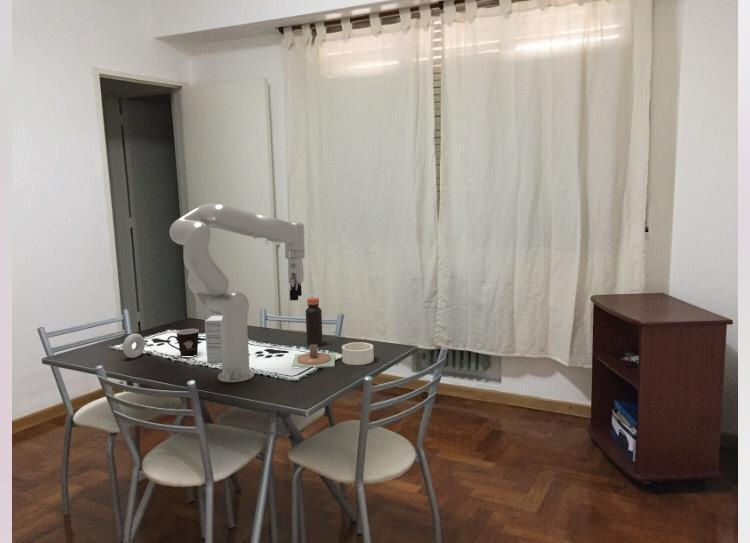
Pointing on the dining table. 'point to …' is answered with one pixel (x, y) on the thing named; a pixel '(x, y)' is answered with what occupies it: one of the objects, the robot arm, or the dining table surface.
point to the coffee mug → (187, 342)
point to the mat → (327, 364)
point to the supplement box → (213, 338)
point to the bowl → (357, 353)
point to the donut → (138, 349)
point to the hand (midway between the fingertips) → (295, 297)
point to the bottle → (314, 322)
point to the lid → (313, 357)
